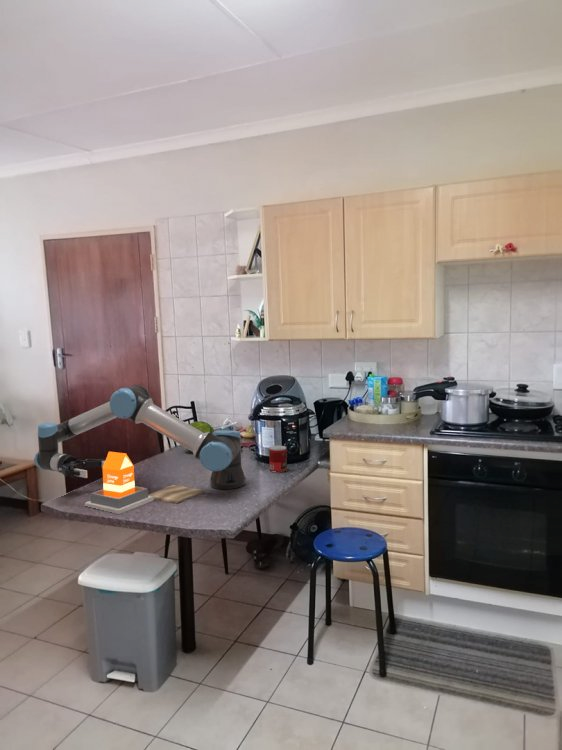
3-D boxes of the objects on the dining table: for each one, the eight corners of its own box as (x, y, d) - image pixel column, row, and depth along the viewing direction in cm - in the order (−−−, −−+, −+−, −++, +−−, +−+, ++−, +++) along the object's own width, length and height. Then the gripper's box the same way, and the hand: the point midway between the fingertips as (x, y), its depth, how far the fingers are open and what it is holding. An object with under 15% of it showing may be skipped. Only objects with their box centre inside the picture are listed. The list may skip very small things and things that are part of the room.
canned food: (285, 473, 256) (284, 449, 255) (267, 472, 258) (267, 449, 256) (288, 469, 263) (287, 445, 262) (271, 468, 265) (271, 445, 264)
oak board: (203, 492, 230) (203, 490, 230) (177, 503, 216) (177, 501, 216) (173, 487, 238) (173, 484, 238) (146, 497, 224) (146, 495, 224)
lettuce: (208, 457, 315) (227, 434, 315) (198, 460, 292) (219, 436, 292) (186, 437, 317) (205, 415, 317) (174, 438, 294) (195, 414, 294)
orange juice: (118, 499, 223) (115, 449, 221) (135, 502, 219) (133, 451, 217) (103, 505, 216) (101, 453, 214) (121, 508, 212) (119, 455, 210)
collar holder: (153, 500, 221) (153, 487, 220) (118, 514, 206) (118, 501, 205) (120, 493, 230) (120, 481, 230) (85, 506, 215) (84, 493, 214)
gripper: (89, 465, 244) (124, 471, 233) (38, 480, 222) (74, 487, 211) (88, 448, 243) (124, 453, 232) (37, 461, 222) (73, 468, 211)
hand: (100, 470), depth 222 cm, fingers open, 13 cm apart
